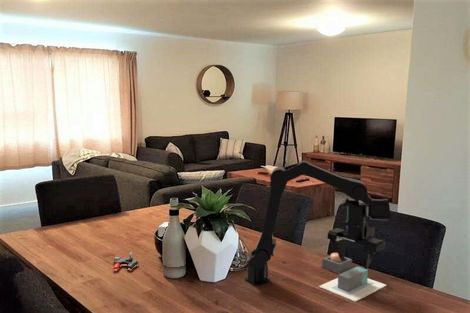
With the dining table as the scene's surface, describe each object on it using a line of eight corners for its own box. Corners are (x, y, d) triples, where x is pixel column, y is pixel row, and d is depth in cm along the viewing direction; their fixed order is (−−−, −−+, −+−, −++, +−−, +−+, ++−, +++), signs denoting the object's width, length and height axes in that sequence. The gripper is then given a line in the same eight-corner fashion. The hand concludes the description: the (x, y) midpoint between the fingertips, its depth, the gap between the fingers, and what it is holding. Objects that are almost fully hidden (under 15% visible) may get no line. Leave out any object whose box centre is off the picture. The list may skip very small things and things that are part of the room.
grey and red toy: (116, 261, 167) (115, 249, 166) (142, 265, 162) (141, 253, 162) (99, 270, 158) (98, 257, 158) (126, 275, 154) (125, 262, 153)
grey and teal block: (348, 291, 139) (348, 278, 139) (337, 287, 142) (338, 274, 142) (367, 282, 146) (367, 269, 146) (357, 278, 149) (357, 266, 149)
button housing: (339, 274, 154) (339, 264, 154) (321, 267, 160) (321, 258, 160) (352, 268, 159) (352, 259, 159) (334, 262, 165) (334, 253, 165)
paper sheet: (355, 301, 133) (355, 300, 133) (318, 286, 144) (318, 285, 144) (386, 285, 145) (386, 284, 145) (350, 273, 155) (350, 271, 155)
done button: (338, 266, 156) (338, 258, 156) (327, 262, 160) (328, 254, 159) (346, 263, 159) (346, 255, 159) (335, 259, 163) (336, 251, 163)
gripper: (395, 220, 139) (392, 266, 141) (346, 209, 153) (344, 251, 155) (376, 227, 132) (374, 275, 134) (326, 214, 146) (325, 259, 148)
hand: (354, 264), depth 143 cm, fingers open, 9 cm apart
